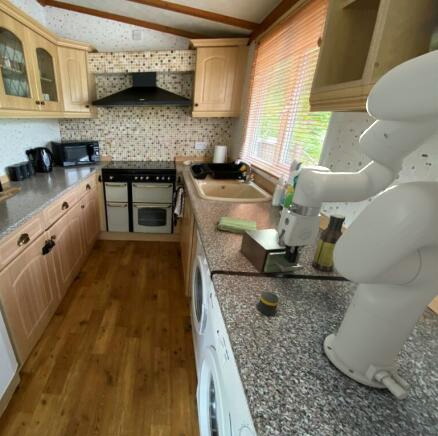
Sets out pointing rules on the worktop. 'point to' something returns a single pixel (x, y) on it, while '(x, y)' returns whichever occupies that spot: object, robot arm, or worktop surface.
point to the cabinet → (260, 245)
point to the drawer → (280, 262)
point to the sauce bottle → (328, 243)
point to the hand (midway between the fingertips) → (289, 260)
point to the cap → (268, 303)
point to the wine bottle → (286, 207)
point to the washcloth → (236, 225)
